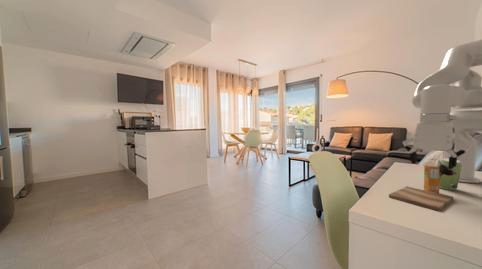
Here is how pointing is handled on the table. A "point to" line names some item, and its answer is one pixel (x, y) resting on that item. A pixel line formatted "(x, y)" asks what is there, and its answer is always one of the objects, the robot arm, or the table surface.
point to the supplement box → (431, 178)
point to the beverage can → (448, 174)
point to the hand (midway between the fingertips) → (431, 165)
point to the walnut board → (422, 198)
